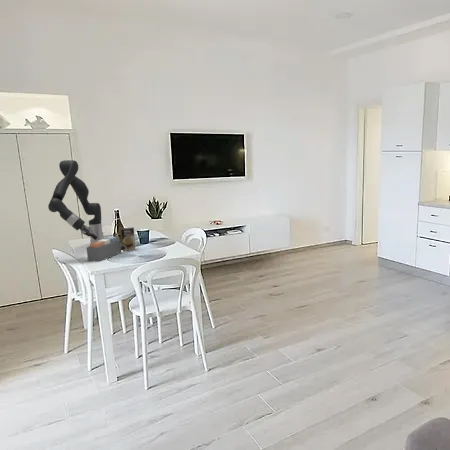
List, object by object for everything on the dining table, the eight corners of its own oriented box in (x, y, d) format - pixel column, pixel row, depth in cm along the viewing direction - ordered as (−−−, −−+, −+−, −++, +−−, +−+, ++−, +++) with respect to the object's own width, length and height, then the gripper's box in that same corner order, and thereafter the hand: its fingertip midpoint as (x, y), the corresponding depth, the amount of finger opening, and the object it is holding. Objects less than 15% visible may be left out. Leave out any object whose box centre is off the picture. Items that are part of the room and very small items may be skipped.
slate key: (109, 240, 277) (109, 236, 276) (117, 241, 275) (116, 236, 274) (104, 242, 271) (104, 238, 271) (112, 243, 269) (111, 238, 269)
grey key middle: (103, 243, 269) (102, 239, 269) (110, 243, 267) (109, 239, 267) (97, 245, 264) (97, 241, 263) (105, 245, 262) (104, 241, 261)
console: (110, 251, 280) (109, 239, 278) (121, 252, 277) (120, 239, 275) (88, 260, 257) (86, 247, 255) (99, 261, 254) (98, 248, 252)
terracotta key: (95, 246, 262) (95, 241, 261) (103, 246, 260) (102, 241, 259) (90, 248, 256) (89, 243, 256) (97, 248, 254) (97, 243, 254)
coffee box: (122, 251, 278) (120, 229, 276) (123, 249, 285) (121, 228, 282) (135, 250, 280) (133, 228, 277) (135, 248, 286) (133, 226, 283)
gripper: (76, 219, 247) (98, 236, 250) (81, 216, 260) (102, 232, 263) (68, 227, 247) (90, 245, 251) (74, 224, 260) (95, 240, 264)
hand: (96, 238), depth 257 cm, fingers closed
